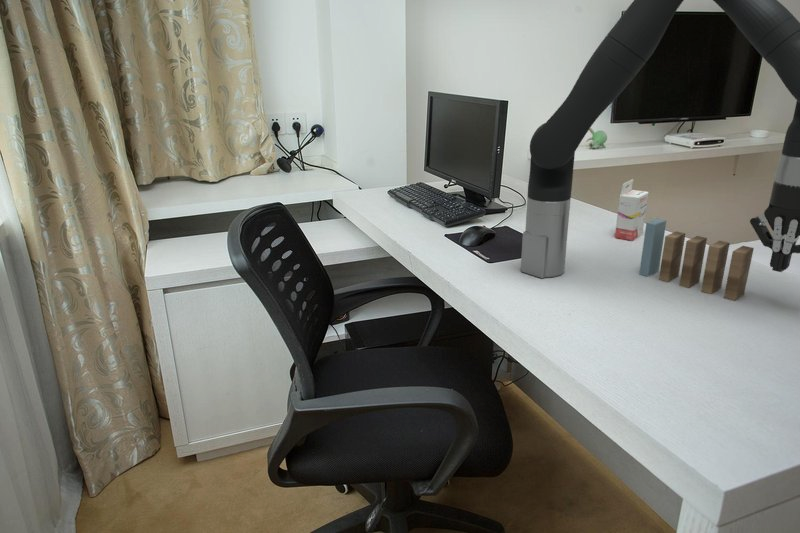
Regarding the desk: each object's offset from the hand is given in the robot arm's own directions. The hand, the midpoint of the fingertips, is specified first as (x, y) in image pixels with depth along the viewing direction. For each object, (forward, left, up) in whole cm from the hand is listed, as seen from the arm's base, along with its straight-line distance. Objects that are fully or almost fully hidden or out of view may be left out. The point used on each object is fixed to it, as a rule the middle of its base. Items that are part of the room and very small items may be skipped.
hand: (778, 270), depth 110 cm
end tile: (0, +25, -8) cm, 26 cm away
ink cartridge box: (+22, +42, -8) cm, 48 cm away
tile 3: (0, +16, -8) cm, 17 cm away
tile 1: (0, +7, -8) cm, 10 cm away
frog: (+143, +127, -8) cm, 191 cm away
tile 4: (0, +20, -8) cm, 22 cm away
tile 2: (0, +11, -8) cm, 13 cm away
